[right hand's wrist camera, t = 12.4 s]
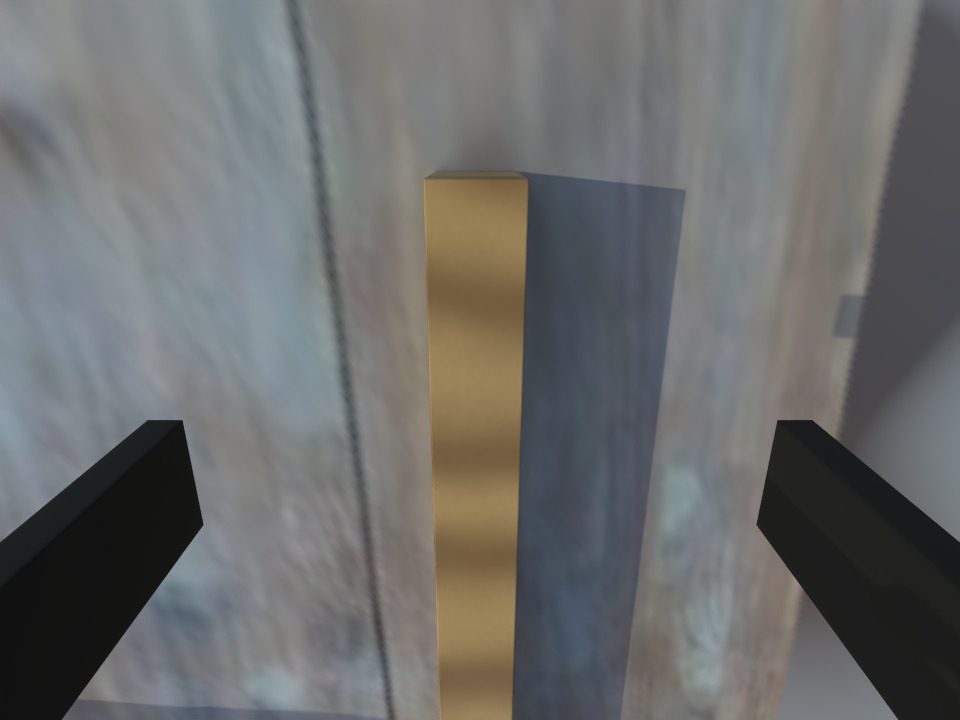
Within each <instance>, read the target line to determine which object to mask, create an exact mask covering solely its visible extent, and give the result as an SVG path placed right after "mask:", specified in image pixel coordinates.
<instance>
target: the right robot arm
mask: <svg viewBox="0 0 960 720" xmlns="http://www.w3.org/2000/svg"><path fill="white" fill-rule="evenodd" d="M202 526H203V520H202V515H201V510H200V505H199V500H198V495H197V490H196V485H195V480H194V475H193V470H192V465H191V460H190V455H189V450H188V445H187V440H186V435H185V430H184V425H183V420H147V421H146V422H145V423H144V424H143V425H141V426H140V427H139V428H138V429H137V430H135V431H134V432H133V433H132V434H131V435H129V436H128V437H127V438H126V439H124V440H123V441H122V442H121V443H120V444H118V445H117V446H116V447H115V448H114V449H112V450H111V451H110V452H109V453H108V454H106V455H105V456H104V457H103V458H102V459H100V460H99V461H98V462H97V463H96V464H94V465H93V466H92V467H91V468H89V469H88V470H87V471H86V472H85V473H83V474H82V475H81V476H80V477H79V478H77V479H76V480H75V481H74V482H73V483H71V484H70V485H69V486H68V487H67V488H65V489H64V490H63V491H62V492H61V493H59V494H58V495H57V496H56V497H54V498H53V499H52V500H51V501H50V502H48V503H47V504H46V505H45V506H44V507H42V508H41V509H40V510H39V511H38V512H36V513H35V514H34V515H33V516H32V517H30V518H29V519H28V520H27V521H26V522H24V523H23V524H22V525H21V526H19V527H18V528H17V529H16V530H15V531H13V532H12V533H11V534H10V535H9V536H7V537H6V538H5V539H4V540H3V541H1V542H0V720H62V718H63V717H64V716H65V714H66V713H67V712H68V710H69V709H70V707H71V706H72V705H73V703H74V702H75V701H76V699H77V698H78V696H79V695H80V694H81V692H82V691H83V690H84V688H85V687H86V685H87V684H88V683H89V681H90V680H91V679H92V677H93V676H94V674H95V673H96V672H97V670H98V669H99V668H100V666H101V665H102V664H103V662H104V661H105V659H106V658H107V657H108V655H109V654H110V653H111V651H112V650H113V648H114V647H115V646H116V644H117V643H118V642H119V640H120V639H121V637H122V636H123V635H124V633H125V632H126V631H127V629H128V628H129V626H130V625H131V624H132V622H133V621H134V620H135V618H136V617H137V615H138V614H139V613H140V611H141V610H142V609H143V607H144V606H145V604H146V603H147V602H148V600H149V599H150V598H151V596H152V595H153V593H154V592H155V591H156V589H157V588H158V587H159V585H160V584H161V582H162V581H163V580H164V578H165V577H166V576H167V574H168V573H169V571H170V570H171V569H172V567H173V566H174V565H175V563H176V562H177V560H178V559H179V558H180V556H181V555H182V554H183V552H184V551H185V549H186V548H187V547H188V545H189V544H190V543H191V541H192V540H193V539H194V537H195V536H196V534H197V533H198V532H199V530H200V529H201V528H202ZM757 526H758V528H759V529H760V530H761V532H762V533H763V534H764V536H765V537H766V539H767V540H768V541H769V543H770V544H771V545H772V547H773V548H774V549H775V551H776V552H777V554H778V555H779V556H780V558H781V559H782V560H783V562H784V563H785V565H786V566H787V567H788V569H789V570H790V571H791V573H792V574H793V576H794V577H795V578H796V580H797V581H798V582H799V584H800V585H801V587H802V588H803V589H804V591H805V592H806V593H807V595H808V596H809V598H810V599H811V600H812V602H813V603H814V604H815V606H816V607H817V608H818V610H819V611H820V613H821V614H822V615H823V617H824V618H825V620H826V621H827V622H828V624H829V625H830V626H831V628H832V629H833V631H834V632H835V633H836V635H837V636H838V637H839V639H840V640H841V642H842V643H843V644H844V646H845V647H846V648H847V650H848V651H849V653H850V654H851V655H852V657H853V658H854V659H855V661H856V662H857V664H858V665H859V666H860V668H861V669H862V670H863V672H864V673H865V674H866V676H867V677H868V679H869V680H870V681H871V683H872V684H873V685H874V687H875V688H876V690H877V691H878V692H879V694H880V695H881V696H882V698H883V699H884V701H885V702H886V703H887V705H888V706H889V707H890V709H891V710H892V712H893V713H894V714H895V716H896V717H897V718H898V720H960V542H959V541H957V540H956V539H955V538H954V537H953V536H951V535H950V534H949V533H948V532H947V531H945V530H944V529H943V528H942V527H940V526H939V525H938V524H937V523H936V522H934V521H933V520H932V519H931V518H930V517H928V516H927V515H926V514H925V513H924V512H922V511H921V510H920V509H919V508H918V507H916V506H915V505H914V504H913V503H912V502H910V501H909V500H908V499H907V498H906V497H904V496H903V495H902V494H901V493H899V492H898V491H897V490H896V489H895V488H893V487H892V486H891V485H890V484H889V483H887V482H886V481H885V480H884V479H883V478H881V477H880V476H879V475H878V474H876V473H875V472H874V471H873V470H872V469H871V468H869V467H868V466H867V465H866V464H864V463H863V462H862V461H861V460H860V459H858V458H857V457H856V456H855V455H854V454H852V453H851V452H850V451H849V450H848V449H846V448H845V447H844V446H843V445H842V444H840V443H839V442H838V441H837V440H836V439H834V438H833V437H832V436H831V435H829V434H828V433H827V432H826V431H825V430H823V429H822V428H821V427H820V426H819V425H817V424H816V423H815V422H814V421H813V420H777V425H776V430H775V435H774V440H773V445H772V450H771V455H770V460H769V465H768V470H767V475H766V480H765V485H764V490H763V495H762V500H761V505H760V510H759V515H758V520H757Z"/></svg>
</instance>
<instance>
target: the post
mask: <svg viewBox="0 0 960 720" xmlns="http://www.w3.org/2000/svg"><path fill="white" fill-rule="evenodd" d="M423 185H424V218H425V251H426V283H427V316H428V349H429V382H430V415H431V448H432V481H433V514H434V547H435V579H436V612H437V645H438V678H439V711H440V720H512V711H513V679H514V646H515V614H516V582H517V550H518V518H519V486H520V454H521V422H522V390H523V357H524V325H525V293H526V261H527V229H528V197H529V180H528V179H527V178H526V177H524V176H523V175H522V174H520V173H519V172H517V171H436V172H435V173H433V174H431V175H430V176H428V177H427V178H425V179H424V180H423Z"/></svg>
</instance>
